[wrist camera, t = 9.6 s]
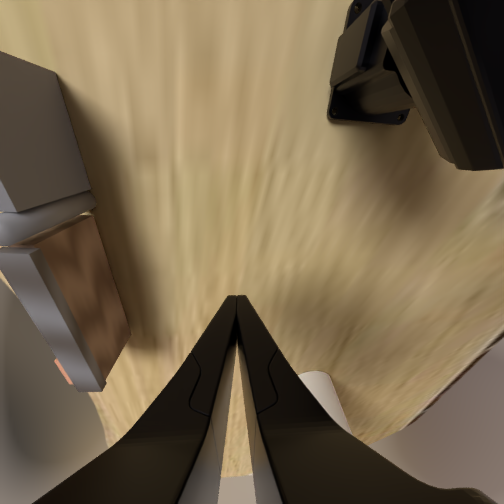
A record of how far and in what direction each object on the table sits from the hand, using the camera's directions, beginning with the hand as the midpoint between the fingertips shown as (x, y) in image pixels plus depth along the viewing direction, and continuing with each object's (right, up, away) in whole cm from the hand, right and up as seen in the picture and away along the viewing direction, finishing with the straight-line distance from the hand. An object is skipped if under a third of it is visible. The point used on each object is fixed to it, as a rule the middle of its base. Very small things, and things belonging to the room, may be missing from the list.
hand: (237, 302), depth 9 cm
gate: (-15, -1, +13) cm, 20 cm away
